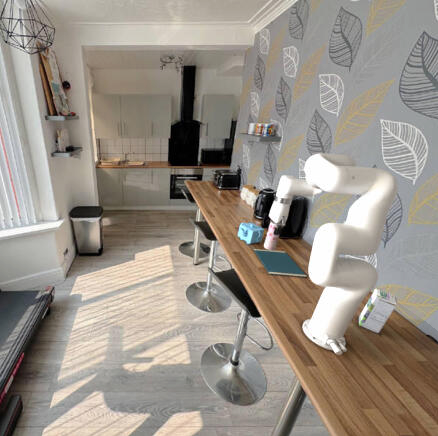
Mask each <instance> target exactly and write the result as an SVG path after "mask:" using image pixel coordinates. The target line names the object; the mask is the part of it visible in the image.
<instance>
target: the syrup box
mask: <svg viewBox="0 0 438 436" xmlns="http://www.w3.org/2000/svg"><path fill="white" fill-rule="evenodd" d="M397 306H398V300H397V296H396V295H395V294H392V293H390V292H387V291H385V290H382V289H378V288H375V289H374V290H373V292H372V294H371V296H370V297H369V299H368V301H367V303H366V304H365V306H364V308H363V309H362V311H361V312H360V314H359V317H358V325H359V326H360V327H362V328H364V329H367V330H370V331H371V332H374V333H376V334H379V333H381V331H382V329H383V327H384V326H385V324H386V322H388V319H389V318H390V316H391V315H392V313H393V312H394V310H395V308H396V307H397Z"/></svg>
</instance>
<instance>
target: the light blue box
mask: <svg viewBox="0 0 438 436" xmlns="http://www.w3.org/2000/svg"><path fill="white" fill-rule="evenodd" d="M264 234H265V229H264V228H263V227H262V226H261V225H257V224H255V223H253V222H247V223H246V222H241V223H240V224H239V228H238V231H237V237H239V238H240V240H241V241H245V243H246V244H247V245H251V244H258V243H261V242H262V240H263V238H264V237H263V236H264Z"/></svg>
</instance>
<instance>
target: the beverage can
mask: <svg viewBox="0 0 438 436" xmlns="http://www.w3.org/2000/svg"><path fill="white" fill-rule="evenodd" d="M269 225H270V226H269ZM269 225H268V228H269V229H267V233H266V236H265V239H264V244H263V247H264V249H265V250H274V251H275V250H276V247H277V244H278V240H279V237H280V235H274V234H273V233H274V229H275V227H276V223H275V222H274V221H271V223H270V222H269ZM279 225H281V224H278V226H279Z"/></svg>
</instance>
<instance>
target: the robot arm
mask: <svg viewBox="0 0 438 436" xmlns="http://www.w3.org/2000/svg"><path fill="white" fill-rule="evenodd" d="M303 169H304V174H305V178H298V177H297V176H295V175H291V174H284V175H281V177H280V179H279V183H278V186H277V189H276V193H275V197H274V200H273V203H272V205H271V208H270V210H269V214H268V217H269V218H270V220H269V225H268V229H269V226H270V223H271V221H274V222H275V223H276V227H275V229H274V233H273V234H274V235H279V236H281V232H282V229H283V228H284V227H286V222H287V220H288V217H289V212H290V209H291V208H290V207H291V205H292V201H293V198H294V196H297V197H298V196H299V197H313V196H316V195H320V194H322V193H324V192H326V193H330V194H342V195H356V196H360V197H359V198H357V199H356V200H355V201H354V202H353V204H352V205H351V206H350V207H349V209H348V212H347V217H346V221H345V222H328V223H327V222H326V223H324V224H322V225H321V226H320V227H319V228H318V229H317V231H316V233H315V235H314V237H313V238H314V239H313V243H312V248H311V252H310V258H309V261H308V262H309V263H308V271H307V272H308V277H309V279H310V280H311V282H312V283H313V284H315V285H316V286H318V287H324V289H323V291H322V293H321V295H320V297H319V300H318V302H317V305H316V307H315V309H314V311H313V314H312V316H311V318H308V319H306V320H304V321H303V323H302V331H303V333H304V334H305V335H306V337H307V338H308V339H309V340H310V341H312V342H313V343H314V344H316V345H317V346H319V347H322V348H323V349H326V350H329V351H333V352H334V353H335V355H336V356H341V355H343V353H347V351H348V349H347V348H346V343H347V342H346V339H345V337H344V335H345V333H346V331H347V329H348V328H349V326H350V324H351V322H352V320H353V318H354V316H355V315H356V313H357V311H358V309H359V307H360V306H361V303H362V302H363V300H364V299H365V298H366V296H367V295H368V294H369V293H370V292H371V291H372V290H373V289H374V288H375V287H376V285H377V283H378V280H379V272H378V270H377V268H376V267H375V266H374V265H373V264H372V263H371V262H369V261H367V260H364V259H362V258H361V259H360V258H355V257H343V256H342V257H341V256H340V255H344V256H357V257H369V256H373V255H375V254H376V253H377V252H378V250H379V247H380V245H381V241H382V237H383V233H384V230H385V227H386V222H387V217H388V215H389V211H390V209H391V207H392V205H393V204H394V201H395V199H396V197H397V194H398V190H399V183H398V179H397V178H396V176H395V175H394V174H393V173H392V172H390V171H388V170H385V169H383V168H379V167H370V166H369V167H368V166H357V162H356V160H355V159H354V157H351V156H350V155H347V154H343V153H342V154H341V153H325V152H319V153H315V154H312V155H310V156H309V157H308V159H307V160H306V161H305V164H304V168H303ZM278 224H281V225H279V226H278ZM268 229H267V230H268ZM339 256H340V257H339Z"/></svg>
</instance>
